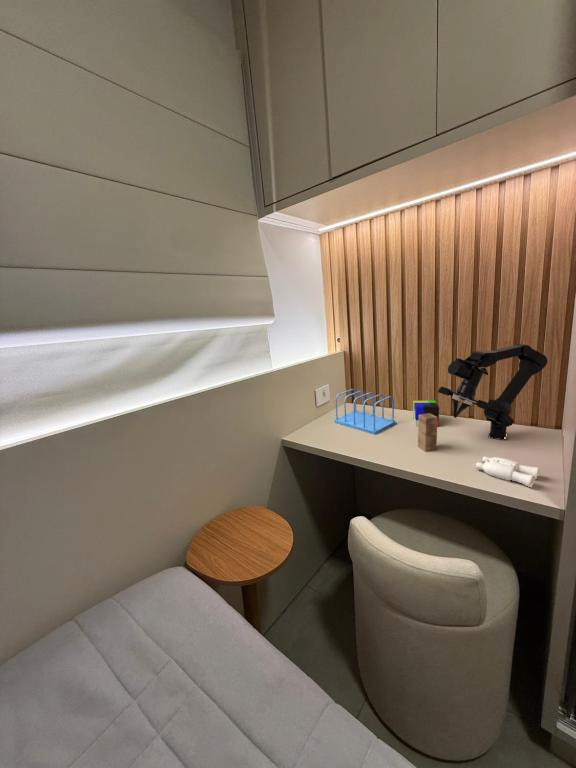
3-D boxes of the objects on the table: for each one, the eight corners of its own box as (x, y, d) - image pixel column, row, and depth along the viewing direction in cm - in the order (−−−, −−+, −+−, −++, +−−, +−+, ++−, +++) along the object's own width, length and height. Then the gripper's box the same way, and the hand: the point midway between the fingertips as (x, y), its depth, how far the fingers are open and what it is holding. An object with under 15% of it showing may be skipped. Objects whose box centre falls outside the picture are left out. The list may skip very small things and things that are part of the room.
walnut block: (429, 444, 134) (430, 413, 130) (437, 449, 129) (438, 417, 126) (417, 446, 133) (418, 414, 130) (425, 451, 128) (426, 418, 125)
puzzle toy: (415, 426, 153) (416, 407, 151) (413, 419, 163) (413, 400, 160) (438, 427, 151) (439, 407, 149) (434, 419, 160) (434, 400, 158)
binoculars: (530, 491, 99) (532, 477, 98) (474, 473, 111) (475, 461, 110) (539, 477, 105) (541, 464, 104) (485, 462, 117) (486, 450, 116)
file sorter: (334, 423, 167) (333, 394, 163) (355, 414, 177) (354, 387, 174) (375, 435, 148) (374, 403, 144) (396, 424, 159) (396, 394, 155)
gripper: (498, 391, 129) (482, 427, 131) (451, 376, 140) (436, 409, 142) (495, 389, 120) (478, 427, 122) (445, 373, 131) (430, 408, 133)
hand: (454, 417), depth 130 cm, fingers closed
